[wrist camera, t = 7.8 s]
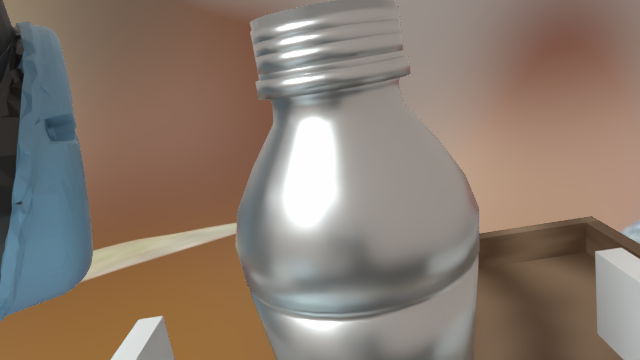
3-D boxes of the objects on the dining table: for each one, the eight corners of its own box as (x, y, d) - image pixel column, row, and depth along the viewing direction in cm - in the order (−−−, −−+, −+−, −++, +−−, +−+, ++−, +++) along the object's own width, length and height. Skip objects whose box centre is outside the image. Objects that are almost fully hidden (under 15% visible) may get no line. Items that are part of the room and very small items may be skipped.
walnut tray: (413, 471, 22) (404, 407, 21) (372, 290, 40) (366, 251, 39) (815, 417, 21) (822, 349, 21) (592, 256, 39) (591, 216, 38)
